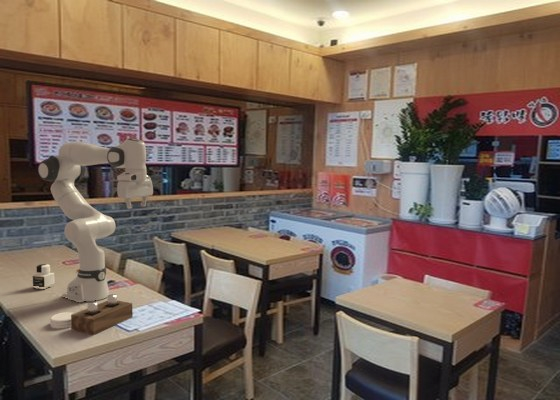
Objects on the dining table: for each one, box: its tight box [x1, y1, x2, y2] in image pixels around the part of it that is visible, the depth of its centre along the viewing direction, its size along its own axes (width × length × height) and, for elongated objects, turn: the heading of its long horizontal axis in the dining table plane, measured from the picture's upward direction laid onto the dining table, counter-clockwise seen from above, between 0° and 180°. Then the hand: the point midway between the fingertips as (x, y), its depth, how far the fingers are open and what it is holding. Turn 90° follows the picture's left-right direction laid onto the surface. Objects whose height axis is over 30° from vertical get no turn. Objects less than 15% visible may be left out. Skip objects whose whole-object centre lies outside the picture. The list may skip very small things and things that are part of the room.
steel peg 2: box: [106, 293, 118, 307], centre depth 172 cm, size 4×4×5 cm
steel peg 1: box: [86, 301, 99, 316], centre depth 163 cm, size 4×4×5 cm
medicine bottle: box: [32, 263, 56, 287], centre depth 214 cm, size 7×7×12 cm
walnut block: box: [71, 300, 133, 336], centre depth 168 cm, size 12×20×6 cm, turn 156°
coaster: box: [49, 311, 76, 330], centre depth 167 cm, size 10×10×4 cm
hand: (136, 207), depth 181 cm, fingers open, 8 cm apart
